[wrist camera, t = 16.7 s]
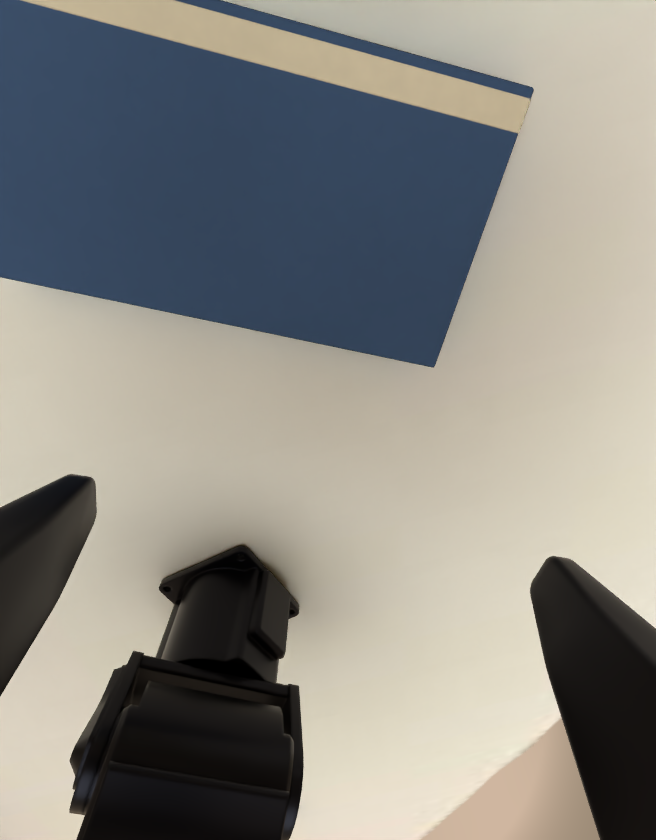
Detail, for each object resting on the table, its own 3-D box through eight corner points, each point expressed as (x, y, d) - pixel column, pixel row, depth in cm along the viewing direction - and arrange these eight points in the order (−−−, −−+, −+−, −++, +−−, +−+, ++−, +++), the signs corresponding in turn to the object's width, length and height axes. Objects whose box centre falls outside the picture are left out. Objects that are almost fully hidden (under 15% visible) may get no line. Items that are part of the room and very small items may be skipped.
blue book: (427, 354, 21) (434, 368, 19) (18, 268, 19) (-8, 276, 18) (517, 94, 16) (536, 87, 15) (-20, -55, 14) (-59, -79, 13)
